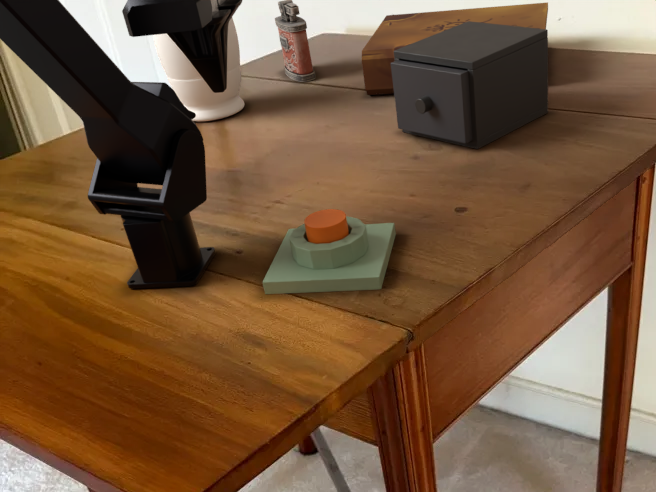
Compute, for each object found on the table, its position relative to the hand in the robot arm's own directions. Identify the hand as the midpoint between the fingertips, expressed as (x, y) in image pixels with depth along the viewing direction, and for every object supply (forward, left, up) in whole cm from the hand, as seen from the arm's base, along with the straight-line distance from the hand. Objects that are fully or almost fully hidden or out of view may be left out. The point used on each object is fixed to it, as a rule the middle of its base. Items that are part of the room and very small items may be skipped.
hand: (220, 91), depth 76 cm
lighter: (+47, +5, -12) cm, 49 cm away
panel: (-12, -11, -12) cm, 20 cm away
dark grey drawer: (+19, -20, -11) cm, 30 cm away
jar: (+33, +14, -12) cm, 38 cm away
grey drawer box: (+21, -22, -12) cm, 33 cm away
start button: (-12, -11, -9) cm, 19 cm away
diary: (+42, -19, -12) cm, 48 cm away
